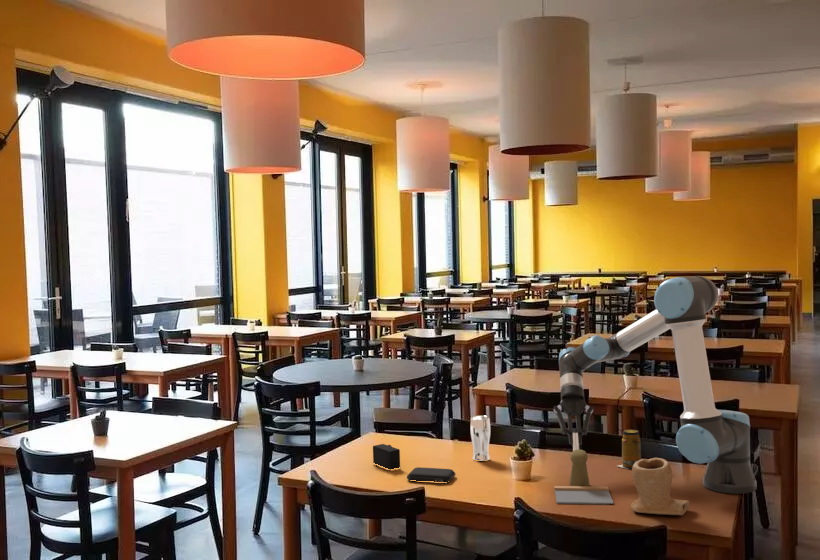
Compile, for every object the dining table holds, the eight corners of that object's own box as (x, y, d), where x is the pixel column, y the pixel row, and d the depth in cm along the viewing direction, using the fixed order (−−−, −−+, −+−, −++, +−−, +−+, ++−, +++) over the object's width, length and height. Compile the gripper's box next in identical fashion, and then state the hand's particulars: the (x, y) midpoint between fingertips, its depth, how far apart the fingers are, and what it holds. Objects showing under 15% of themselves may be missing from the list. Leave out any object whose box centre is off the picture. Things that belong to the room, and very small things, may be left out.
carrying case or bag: (404, 484, 253) (448, 487, 249) (403, 474, 253) (448, 477, 249) (413, 474, 263) (456, 477, 259) (413, 465, 263) (456, 468, 259)
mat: (554, 489, 242) (554, 485, 242) (607, 490, 240) (607, 486, 240) (556, 503, 229) (556, 499, 229) (613, 504, 227) (613, 500, 227)
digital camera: (403, 468, 270) (402, 448, 270) (390, 471, 267) (389, 451, 266) (386, 462, 278) (385, 442, 278) (373, 465, 275) (372, 445, 275)
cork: (590, 478, 247) (589, 447, 244) (588, 489, 242) (588, 458, 238) (570, 476, 249) (570, 446, 246) (568, 487, 244) (567, 456, 240)
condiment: (629, 462, 270) (628, 427, 269) (650, 467, 263) (650, 431, 263) (616, 466, 265) (615, 431, 265) (638, 471, 259) (637, 435, 258)
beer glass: (494, 458, 279) (493, 416, 279) (485, 463, 273) (484, 420, 273) (476, 456, 283) (475, 414, 282) (467, 461, 277) (466, 418, 276)
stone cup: (627, 517, 216) (626, 463, 215) (633, 504, 227) (633, 452, 226) (686, 523, 210) (685, 467, 209) (689, 509, 221) (689, 456, 220)
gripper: (591, 396, 264) (597, 459, 248) (551, 396, 265) (554, 459, 250) (593, 383, 258) (598, 447, 242) (552, 383, 260) (554, 446, 244)
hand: (576, 453), depth 246 cm, fingers closed
